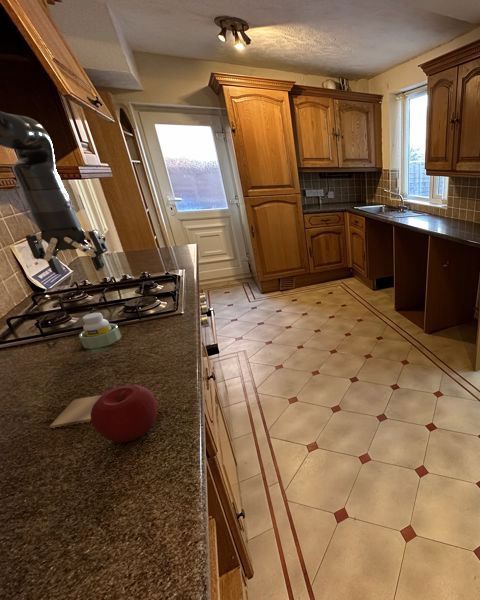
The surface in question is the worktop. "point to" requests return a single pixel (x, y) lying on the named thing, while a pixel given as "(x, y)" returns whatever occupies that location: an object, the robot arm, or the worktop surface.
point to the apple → (124, 413)
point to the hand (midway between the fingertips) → (80, 271)
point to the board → (76, 412)
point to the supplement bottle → (95, 325)
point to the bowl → (100, 340)
